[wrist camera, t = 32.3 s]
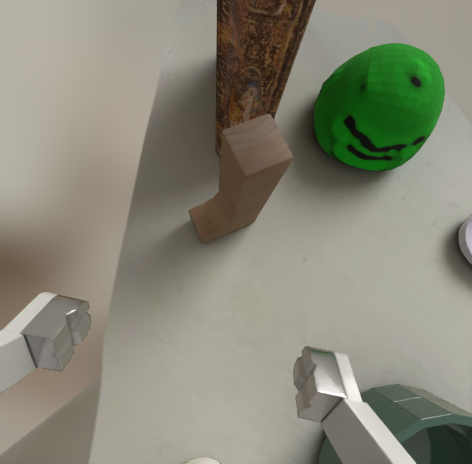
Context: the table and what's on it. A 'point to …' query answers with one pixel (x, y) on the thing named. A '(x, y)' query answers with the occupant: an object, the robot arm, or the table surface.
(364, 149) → the toy
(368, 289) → the table surface
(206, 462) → the cup
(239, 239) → the table surface
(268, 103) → the book
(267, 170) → the wooden block
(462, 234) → the white shallow round dish
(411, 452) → the bowl
